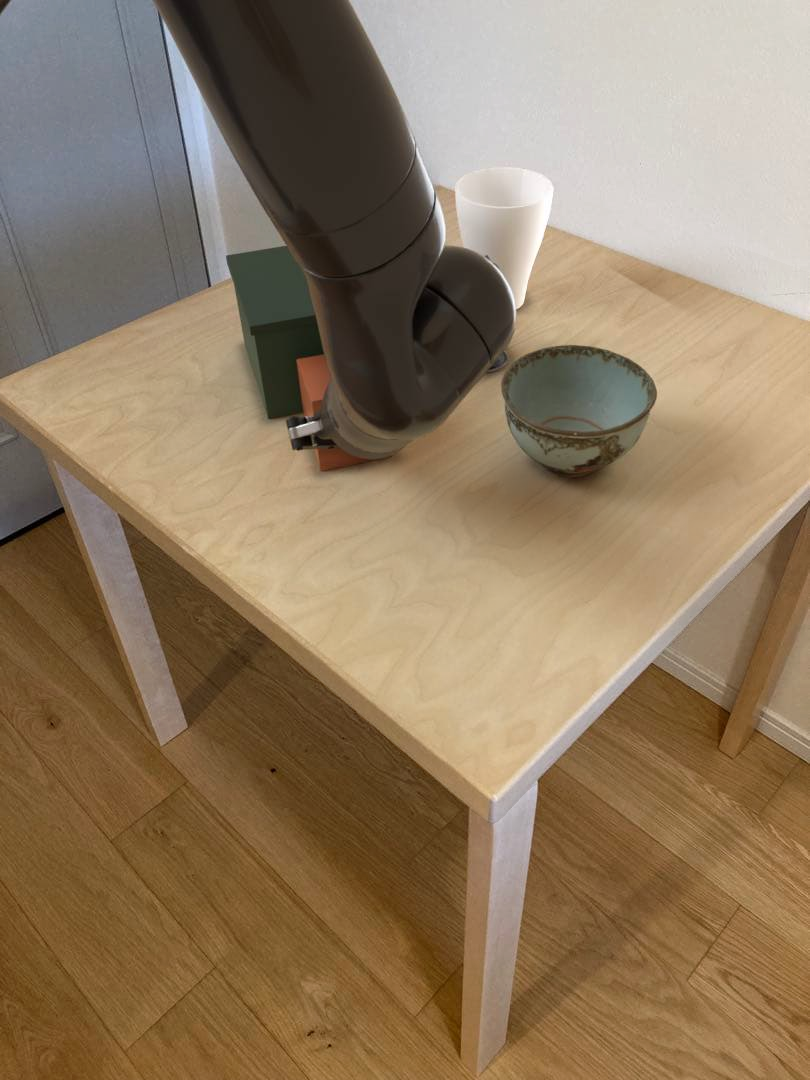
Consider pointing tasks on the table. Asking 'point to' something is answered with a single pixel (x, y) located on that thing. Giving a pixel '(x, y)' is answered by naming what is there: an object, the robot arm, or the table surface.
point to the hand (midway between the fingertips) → (350, 435)
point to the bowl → (576, 406)
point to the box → (275, 323)
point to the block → (312, 391)
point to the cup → (505, 219)
